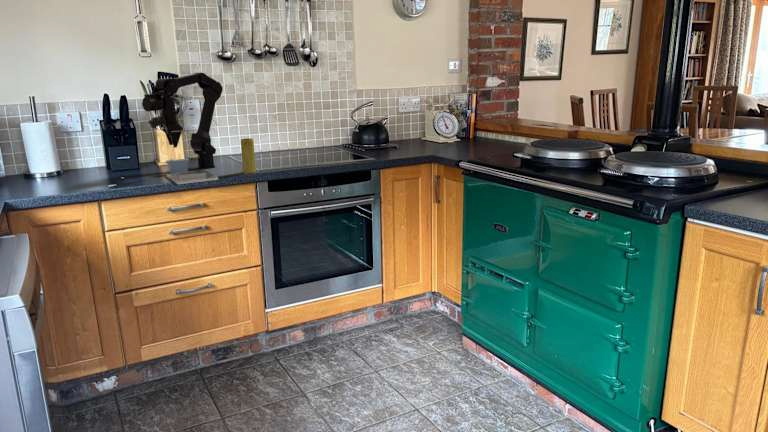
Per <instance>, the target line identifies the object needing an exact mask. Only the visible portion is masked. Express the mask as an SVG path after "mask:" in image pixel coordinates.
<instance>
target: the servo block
mask: <svg viewBox="0 0 768 432" xmlns="http://www.w3.org/2000/svg"><path fill="white" fill-rule="evenodd" d="M190 161H191V160H190V159H188V158H179V159H175V158H170V159H167V160H165V164H167V165H168V173H169V174H174V173H180V172H189V167H188V165H189V164H188V163H190Z"/></svg>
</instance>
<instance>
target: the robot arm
mask: <svg viewBox="0 0 768 432" xmlns="http://www.w3.org/2000/svg"><path fill="white" fill-rule="evenodd" d="M193 84H197V86H198V87H199V88H200V89H201V90H202V96H203V100H204V101H203V106H202V110H201V115H200V119H199V123H198V128H197V131H196V132H193V133H192V134H191V136H190V137H191V139H190V140H189V143H190V147H191V149H192V151H193V153H194V154H195V155H197V157H196V166H197V168H199V169H200V170H205V169H211V168H212V169H213V168H216V165H215V163H214V162H215V161H214V155H216V152H217V149H216V148H215V147H214V146H213V145H212V139H211V135H210V131H211V127H212V121H213V117H214V112H215V107H216V103H217V101H218V100H220V98H221V96H222V93H223V92H224V91H223V89H224V88H223V86H222V84H221V82H220V81H217V80H216V79H214V78H212V77H210V76H209V75H207V74H206V73H204V72H194V73H192V74H187V75H183V76H179V77H174V78H172V77H171V78H157V80H156V82H155V85H154V87H153V90H152V92H151V93H150V94H149V93H148V94H147V93H145V94H143V95H144V96H143V99H142V102H141V105H142V109H143V110H144V111H145V112H156V111H160V113H159V115H158V116H155V117H153V118H151V119H149V120H148V121H147V122H148V124H149V126H150V128H151V129H156V128H158V127H159V129H160V130H161V131H162V132H163V133H165V136H166V138H167V141H168V145H169V146H173V148H174V149H175V148H178V145H179V142H180V138H181V136H182V133H183V130H184V129H183V128H184V127H183V125H182V124H181V123H179V120H178V117H177V115H178V111H177V109H176V101H175V99H176V98H180V97H179V95H178V94H177V93H176V91H178V90H179V89H180V88H182V87H187V86H192V85H193Z"/></svg>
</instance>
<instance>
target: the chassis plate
mask: <svg viewBox="0 0 768 432" xmlns="http://www.w3.org/2000/svg"><path fill="white" fill-rule="evenodd" d="M165 175H166V176H165V177H166V178H168V179H169V180H170V179H171V180H170V181H172V182H173V181H174V182H173V183H175V184H176V185H187V184H193V183H201V182H202V183H203V182H210V181H218V180H219V177H218V176H217V175H215V174H213V173H211V172H209V171H207V170H205V169H200V170H191V171H189V170H188V172H180V173H174V174H170V173H169V174H165Z"/></svg>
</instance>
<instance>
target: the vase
mask: <svg viewBox="0 0 768 432" xmlns="http://www.w3.org/2000/svg"><path fill="white" fill-rule="evenodd" d="M254 142H255V141H254V138H241V139H240V148H241V165H242V169H241V170H242V173H243V174H255V173H257V171H258V170H257V165H256V161H257V160H256V153H255V144H254Z"/></svg>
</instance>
